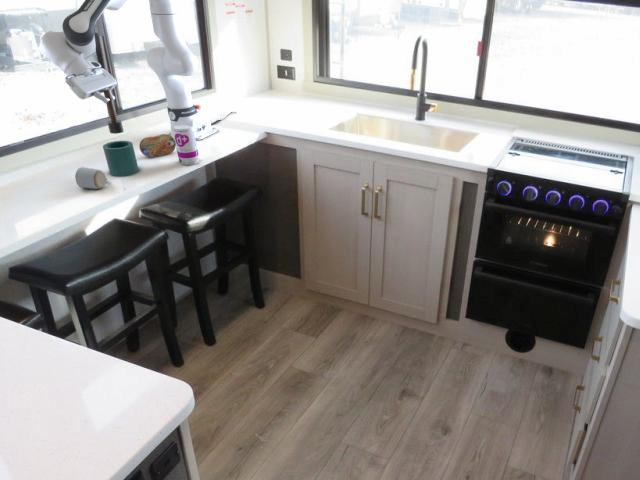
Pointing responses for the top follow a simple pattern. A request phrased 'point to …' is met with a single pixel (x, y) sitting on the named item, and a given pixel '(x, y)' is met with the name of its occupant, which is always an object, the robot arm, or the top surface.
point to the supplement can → (186, 144)
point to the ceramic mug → (90, 178)
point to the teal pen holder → (120, 158)
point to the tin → (157, 145)
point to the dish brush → (113, 115)
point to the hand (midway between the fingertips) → (110, 100)
